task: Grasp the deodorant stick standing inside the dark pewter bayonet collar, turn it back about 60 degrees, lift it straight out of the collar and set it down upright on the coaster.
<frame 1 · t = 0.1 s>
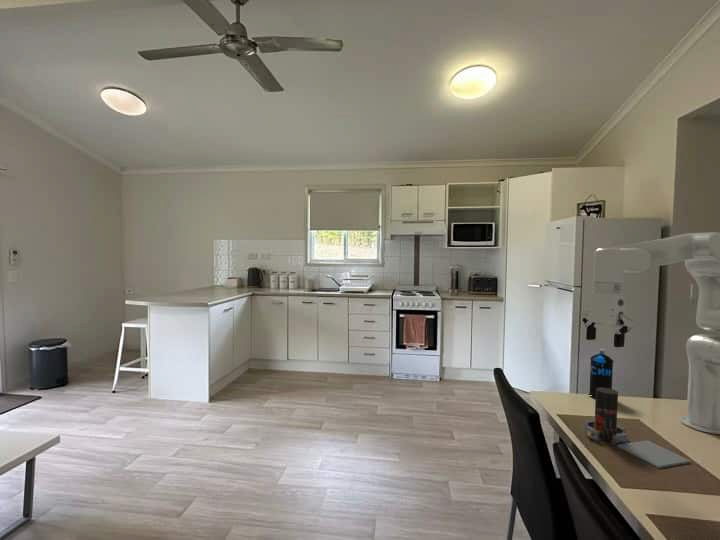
hand: (604, 343, 116), 31 cm above the table, fingers open, 9 cm apart
deodorant: (604, 437, 120), on the table
aerosol can: (600, 397, 155), on the table
collar: (604, 436, 120), on the table
coaster: (652, 454, 110), on the table
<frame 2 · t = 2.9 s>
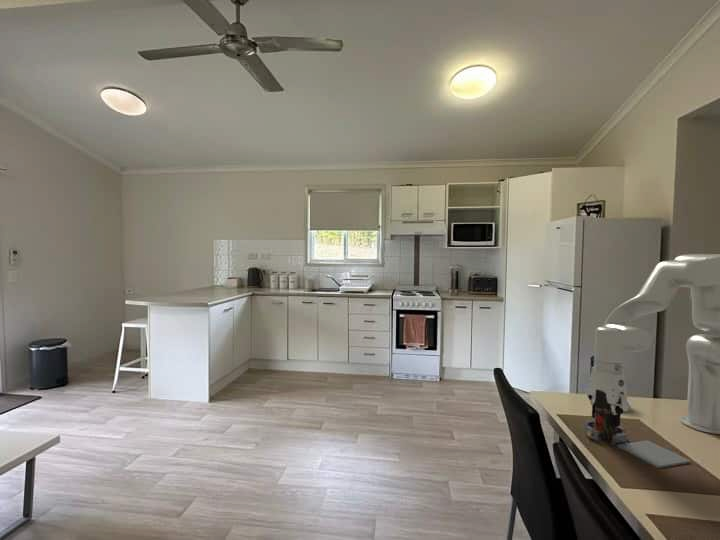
hand: (605, 421, 120), 5 cm above the table, fingers closed on deodorant, 5 cm apart
deodorant: (604, 437, 120), on the table, touching gripper
everything else where it was.
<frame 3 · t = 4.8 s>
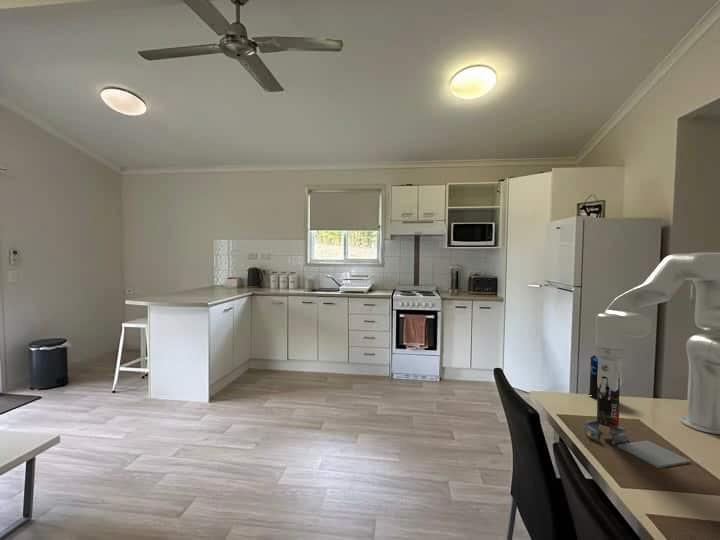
hand: (607, 407, 120), 9 cm above the table, fingers closed on deodorant, 5 cm apart
deodorant: (607, 423, 120), point 4 cm above the table, touching gripper
everything else where it was.
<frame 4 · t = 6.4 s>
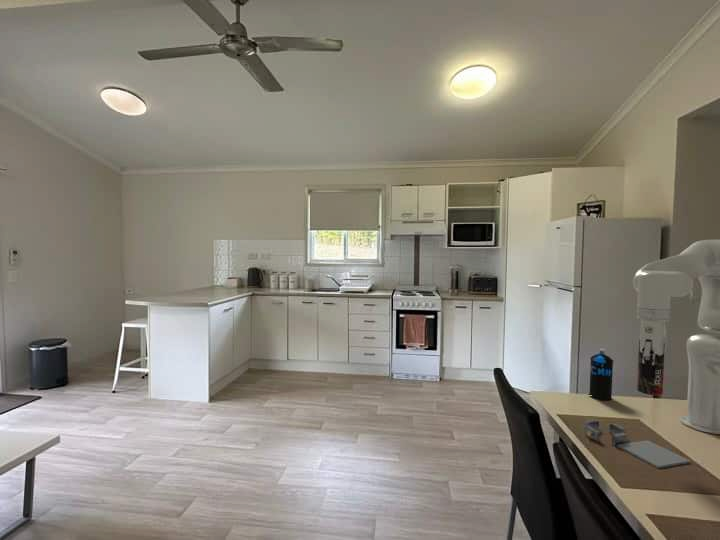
hand: (650, 374, 110), 23 cm above the table, fingers closed on deodorant, 5 cm apart
deodorant: (649, 392, 110), point 18 cm above the table, touching gripper
everything else where it was.
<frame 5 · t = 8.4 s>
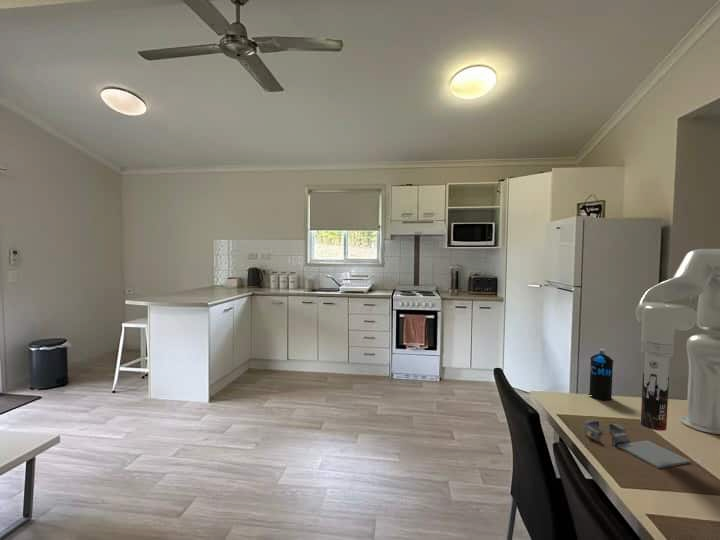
hand: (654, 408, 109), 14 cm above the table, fingers closed on deodorant, 5 cm apart
deodorant: (653, 426, 109), point 8 cm above the table, touching gripper
everything else where it was.
when the fingers open (7 cm above the table, at t = 10.2 s): deodorant stays where it is, resting on coaster.
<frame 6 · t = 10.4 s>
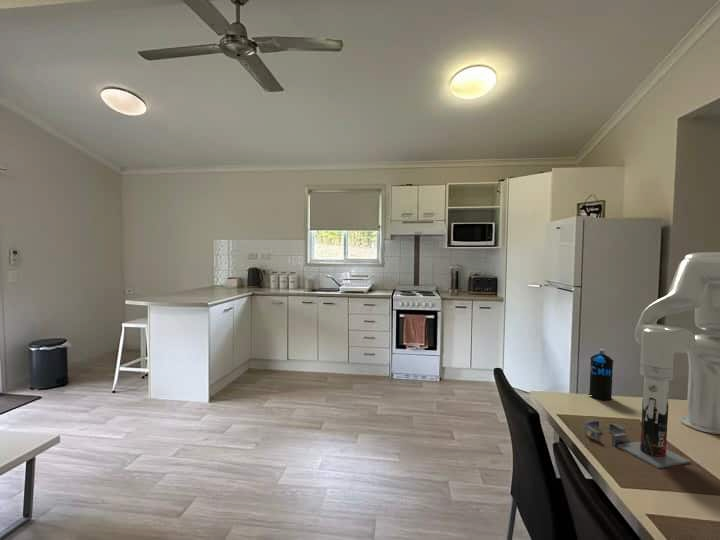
hand: (653, 430, 110), 7 cm above the table, fingers open, 7 cm apart
deodorant: (652, 452, 110), resting on coaster
everything else where it was.
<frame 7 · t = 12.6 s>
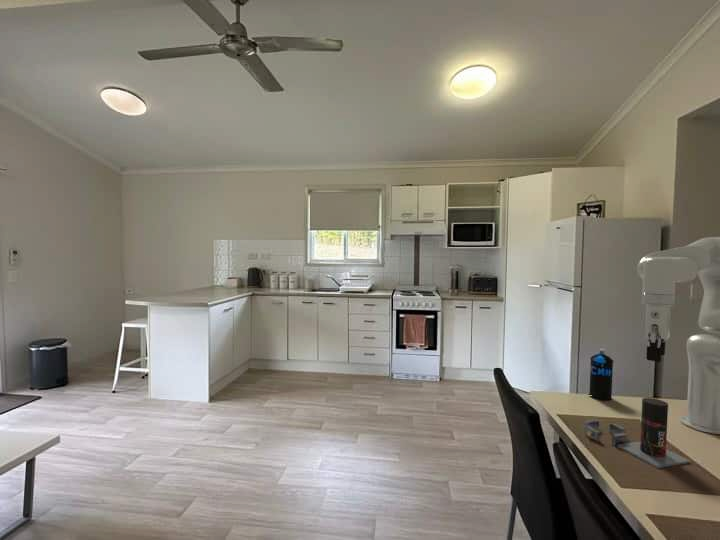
hand: (655, 357, 111), 28 cm above the table, fingers open, 9 cm apart
nothing on the table moved.
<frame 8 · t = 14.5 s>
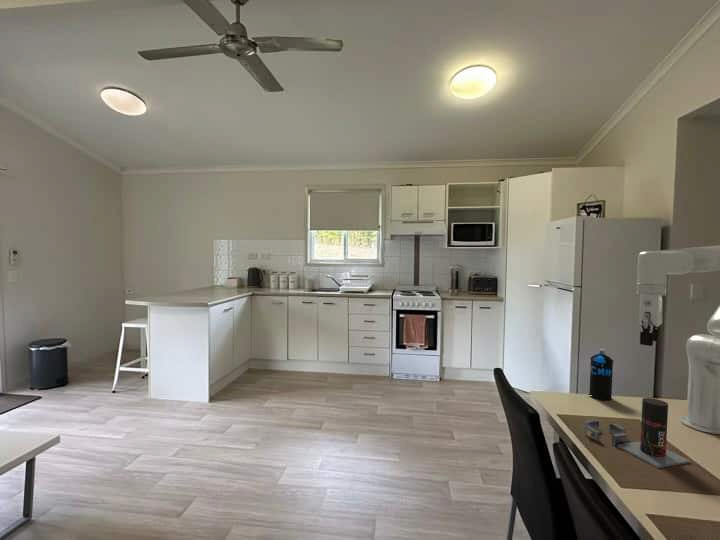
hand: (648, 342, 121), 30 cm above the table, fingers open, 9 cm apart
nothing on the table moved.
at the end: deodorant inside the target area (0.3 cm from its centre), resting on coaster; deodorant tilted 0°; the gripper is holding nothing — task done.
